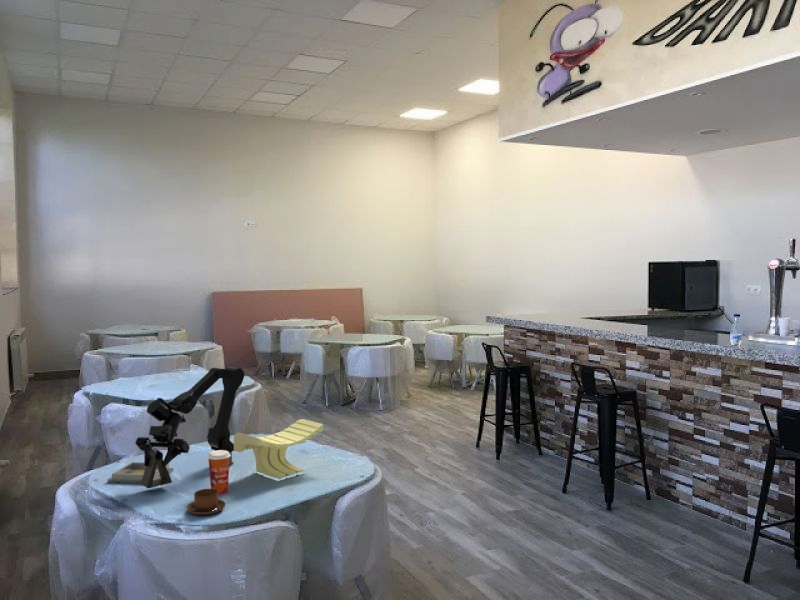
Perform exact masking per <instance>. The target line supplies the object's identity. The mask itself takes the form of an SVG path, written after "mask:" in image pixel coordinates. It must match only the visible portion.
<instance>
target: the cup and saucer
mask: <svg viewBox="0 0 800 600" xmlns="http://www.w3.org/2000/svg"><path fill="white" fill-rule="evenodd" d="M193 493H194V494H193V495H194V496H193V497H194V500H193V501H192V502H190V503H189V504H188V505H187V506H186V509H187V510H186V511H188V512H189V513H191V514H192V515H199V516H200V515H201V516H207V515H211V514H216V513H218V512H220V511H222V510H223V509H224V508H225V506H226V502H225V501H224V500H221V499H219V497H218V496H219V495H218V491H217V490H215V489H211V488H203V489H198V490H196V491H195V492H193ZM215 508H217V510H214V509H215ZM212 510H214V511H212Z"/></svg>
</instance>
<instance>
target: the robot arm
mask: <svg viewBox="0 0 800 600" xmlns="http://www.w3.org/2000/svg"><path fill="white" fill-rule="evenodd" d="M220 379H221V381H222V385H223V392H222V396H221V401H220V405H219V409H218V413H217V418H216V422H215V424H214V425H213V427H209V428H208V434H207V436H206V439H207V443H208V445H209V446H210V449H211V450H212V451H217V450H225V451H228V452H229V453H230V455H231V456H230V457H229V468H230V467H231V466H232V465H233V464H234V462H235V461H233V452H235V451H234V442H232V441H231V432H230V429H229V428H230V427H229V424H230V420H231V417H232V411H233V406H234V403H235V399H236V395H237V394H236V393H237V390H239V388H240V387H241V386H242V384H243V381H244V379H245V372H244V370H243V369H242V368H240V367H234V366H233V367H232V366H228V367H225V368H220V367H211V368H210V369H209V370H208V372H207V373H206V374H204V375H203V377H202V378H200V379H199V380H198V381H197V382H195V384H194V385H193V386H192V387H191V388H190V389H188V390H186V391H184V392H182V393H180V394H178V395H177V396H175V398H173V399H172V401H169V402H166V401H165V400H164V399H163V398H162V397H157V398H156V400H155V399H154V400H153V401H152V402H151V403H149V404H148V406H147V408H146V414H149V416H151V417H153V418H154V419H155V420H157V421H158V422H162V424H161V425H150V428H149V432H148V436H152V438H153V440H155V441H153V440H151V439H150V438H149V437H148V436H139V437H137V438H136V439H135V442H134V444H135V445H136V446H137V447H138V448H139V450H140V451H142V452H144V454H143V455H144V459H143V461H144V465H145V466H147V465H148V459H149V450H150V449H154V448H167V452H166V454H165V456H164V457H163V464H162V467H165V466H166V465H167V464H168V463H169V464H170V462H172V461H173V460H174V459H175V458H177V457H178V456H179V455H182V454H188V453H189V451H190V447H191V446H190V445H189V443H188V442H187V441H186V439H185V438H177V437H178V433H177V431H178V429H179V427H180V424H183V423H187V420H186V418H185V417H184V415H187V414H189V413H192V411H193V409H194V408H195V407H196V406H197V404H198V401H199V399H200V398H201V397H202V396H203V395H204V394H205V393H206V392H208V390H209V389H210V388H212V386H213V385H215V384H216V382H218V381H219V380H220ZM179 413H180V414H179ZM181 414H182V415H181Z"/></svg>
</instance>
